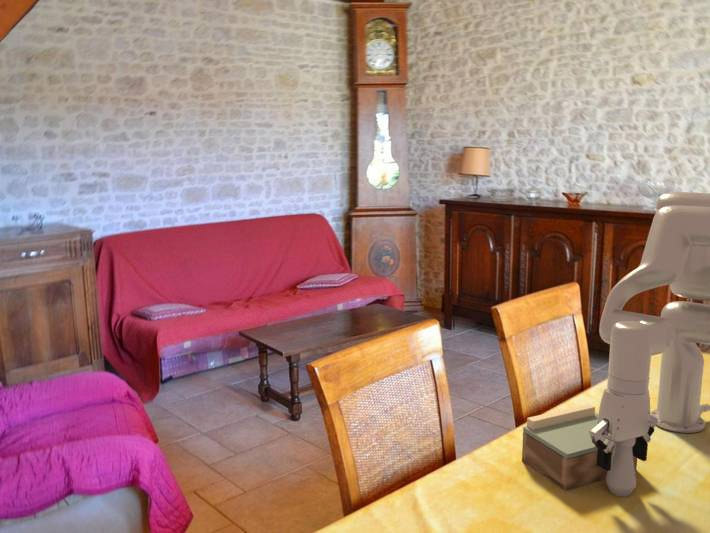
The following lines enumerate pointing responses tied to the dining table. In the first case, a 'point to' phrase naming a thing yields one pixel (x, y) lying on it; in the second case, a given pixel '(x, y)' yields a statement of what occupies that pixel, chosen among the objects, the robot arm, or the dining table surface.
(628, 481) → the salt shaker
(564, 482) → the toolbox
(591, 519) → the dining table surface
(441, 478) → the dining table surface
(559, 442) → the lid
